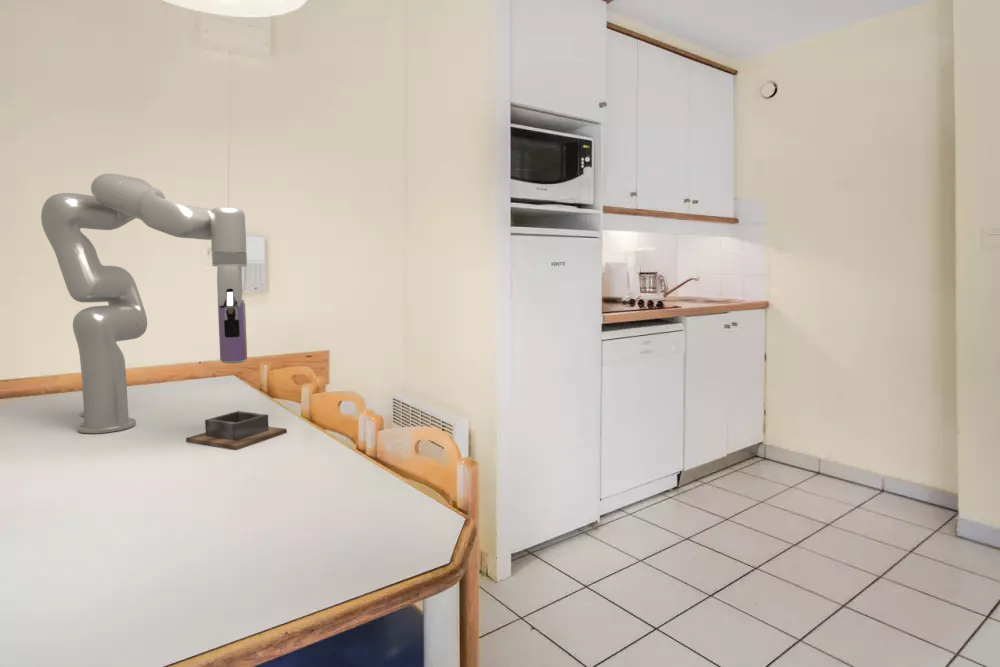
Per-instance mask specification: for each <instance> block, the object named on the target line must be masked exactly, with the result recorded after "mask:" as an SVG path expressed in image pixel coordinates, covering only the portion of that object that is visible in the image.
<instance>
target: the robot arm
mask: <svg viewBox="0 0 1000 667" xmlns="http://www.w3.org/2000/svg"><path fill="white" fill-rule="evenodd" d="M90 186H91V187H90V190H91V194H92V195H89V194H82V193H74V192H63V193H60V192H59V193H56V194H53V195H51V196H49V197H48V198H47V199H46V200H45V202H44V203H43V206H42V209H41V215H40V220H41V226H42V229H43V232H44V234H45V237H46V238H47V240H48V242H49V244H50V246H51V248H52V249H53V252H54V254H55V256H56V260H57V264H58V267H59V269H60V272H61V275H62V277H63V281H64V283H65V286H66V289H67V291H68V293H69V296H70V297H71V298H72V299H73V300H74V301H76V302H80V303H107V305H97V306H96V305H95V306H94V305H93V306H89V307H86V308H83V309H82V310H80V311H78V312H77V313H76V314H75V316H74V317H73V321H72V331H73V334H74V337H75V340H76V343H77V348H78V354H79V361H80V371H81V384H82V385H81V386H82V387H81V388H82V400H83V401H82V402H83V411H82V412H80V413H79V414H78V416H79V418H83V423H79V425H78V426H77V431H78V432H79V433H83V434H105V433H112V432H119V431H123V430H126V429H129V428H132V427H134V426H135V425H136V424H137V422H136V419H135V418H133V417H129V404H128V403H129V402H128V387H127V372H126V360H125V356H124V353H123V351H122V349H121V348H120V346H119V345H118V343H117V342H121V341H129V340H135V339H138V338H140V337H142V336H143V335H144V334H145V333H146V332H147V328H148V319H147V318H148V316H147V313H146V310H145V307H144V304H143V301H142V298H141V294H140V292H139V289H138V286H137V284H136V281H135V279H134V277H133V276H132V274H131V273H129V271H128V270H127V269H125V268H123V267H121V266H117V265H103V264H102V263H101V261H100V258H99V256H98V253H97V250H96V248H95V246H94V244H93V243H92V242H91V240H90V239H89V237H87V236H86V235H85V234H84V233H83V232H82V231H81V229H87V230H98V231H99V230H101V231H112V230H117V229H119V228H121V227H123V226H125V225H127V224H128V223H130V222H132V221H133V220H136V219H138V220H140V221H142V223H143V224H145V225H146V226H148V227H149V228H151V229H154V230H156V231H159V232H161V233H164V234H166V235H170V236H173V237H176V238H182V239H193V240H194V239H196V240H206V241H209V240H210V242H211V261H212V262H211V264H212V267H217V269H216V284H217V285H216V286H217V308H218V307H219V308H221V306H223V305H224V302H225V308H224V309H225V320H224V330H225V337H239V336H240V331H239V320H238V308H239V307H240V306H241V300H243V272H242V270H243V269H242V267H244V268H245V267H248V260H247V259H248V258H247V255H248V254H247V236H246V235H247V234H246V233H247V232H246V231H247V229H246V214H245V212H244V210H243V209H240V208H237V207H232V206H231V207H229V206H219V207H217V206H216V207H213V208H206V207H200V206H192V205H188V204H187V205H185V204H180V203H178V202H173V201H171V200H168V199H166V196H165V194H164V193H163V191H162V190H160V189H158V188H156V187H153V185H151V183H149V182H148V181H146V180H144V179H141V178H138V177H133V176H127V175H124V174H119V173H118V174H117V173H103V174H101V175H98V176H97V177H95V178H94V179H93V181H92V183H91V185H90ZM235 303H236V307H233V305H235ZM226 304H227V307H226ZM237 307H238V308H237Z"/></svg>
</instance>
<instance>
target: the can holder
mask: <svg viewBox="0 0 1000 667" xmlns="http://www.w3.org/2000/svg"><path fill="white" fill-rule="evenodd" d="M204 423H205V424H204V426H205V427H204V428H205V432H201V433H198V434H195V435H192V436H188V437H186V438H185V440H186V441H185V442H186V443H191V444H198V445H202V446H208V447H213V448H214V447H215V448H220V449H228V450H232V451H233V450H234V451H237V450H241V449H244V448H246V447H250V446H253V445H255V444H258V443H261V442H264V441H267V440H270V439H272V438H275V437H278V436H282V435H284V434H287V433H288V431H287V428H282V427H275V426H269V414H264V413H256V412H249V411H240V410H237V411H233V412H230V413H229V412H228V413H225V414H222V415H219V416H215V417H211V418H207V419H205V420H204Z"/></svg>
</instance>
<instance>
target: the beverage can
mask: <svg viewBox="0 0 1000 667" xmlns="http://www.w3.org/2000/svg"><path fill="white" fill-rule="evenodd" d="M226 307H227V304H226ZM233 307H236V303H235V305H233ZM224 308H225V302H224V305H223V306H221V308H219V307H218V306H217V316H218V317H217V318H218V338H219V339H218V340H219V358H220V359H219V360H220V362H221V363H223V364H240V363H245V362H246V361H247V359H248V349H247V348H248V346H247V345H248V344H247V343H248V342H247V322H246V321H247V320H246V303H245V300H244V299H242V300H241V306H240V307H239V308H238V307H237V308H238V320H239V331H240V336H239V337H225V330H224V320H225V309H224Z"/></svg>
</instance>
